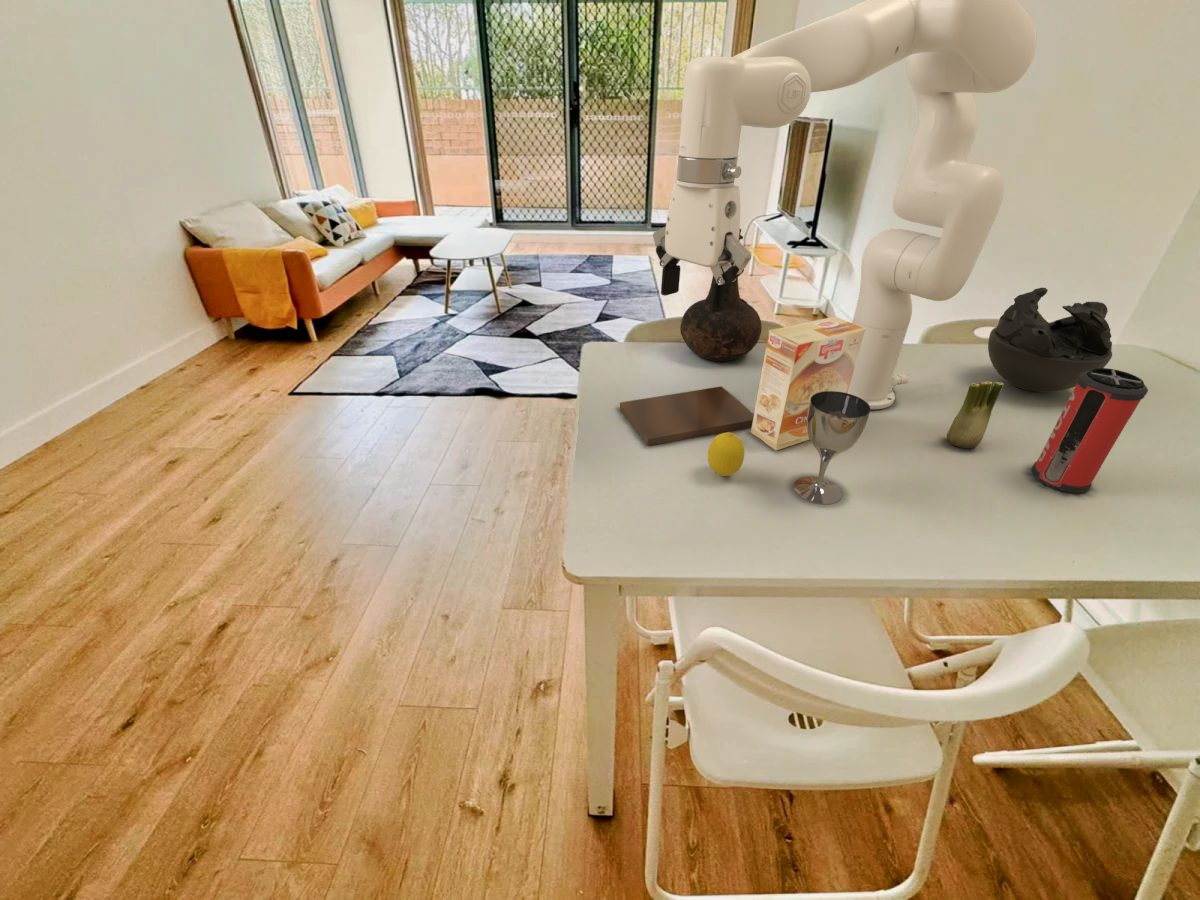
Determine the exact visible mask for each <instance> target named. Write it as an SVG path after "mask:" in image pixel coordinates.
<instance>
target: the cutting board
mask: <svg viewBox="0 0 1200 900" xmlns="http://www.w3.org/2000/svg"><path fill="white" fill-rule="evenodd" d="M619 410H620V412H621V413H622V414H623V416H624V417H625V418H626V420H627V421H628V423H630V425H631V426H632V428H633V429H634V430H635V431H636V433H637V434H638V435H639V436H640V438H641V439H642V441H643V442H644V443H645V444H646V446H647V447H649V446H654V445H655V446H656V445H661V444H665V443H671V442H676V441H683V440H688V439H692V438H698V437H703V436H704V437H705V436H710V435H715V434H722V433H727V432H732V431H736V430H742V429H747V428H752V423H753V417H754V413H753V412H752V411H751V410H750V409H748V408H747V407H746V406H745V405H744V404H743V403H742V402H740V401H739V399H737V398H736V397H735V396H734V395H732V394H731V393H730V392H729V391H728V390H726V388H724V387H723V386H722V385H721V386H714V387H708V388H702V389H696V390H690V391H689V390H688V391H684V392H677V393H671V394H665V395H659V396H653V397H647V398H639V399H634V400H626V401H620V402H619Z"/></svg>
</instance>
